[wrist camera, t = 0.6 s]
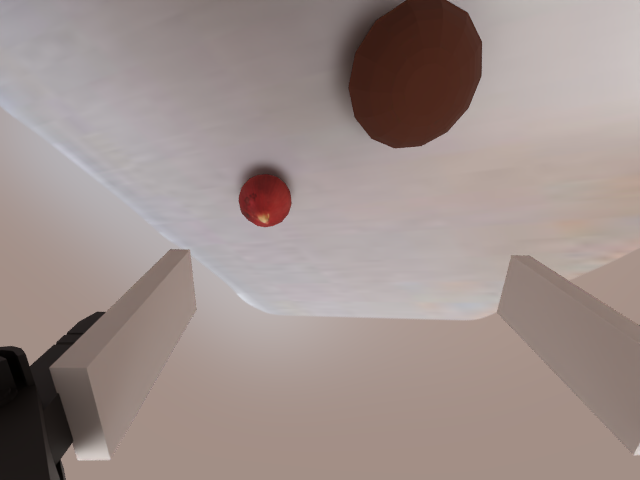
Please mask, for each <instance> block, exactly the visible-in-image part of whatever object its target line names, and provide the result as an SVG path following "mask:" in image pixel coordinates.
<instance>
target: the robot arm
mask: <svg viewBox="0 0 640 480" xmlns="http://www.w3.org/2000/svg"><path fill="white" fill-rule="evenodd" d="M195 311H196V300H195V291H194V282H193V274H192V264H191V255H190V250H179V249H170V250H169V251H168V252H167V253H166V254H165V255H164V256H163V257H162V258H161V259H160V260H159V261H158V262H157V263H156V264H155V265H154V266H153V267H152V268H151V269H150V270H149V271H148V272H147V273H146V274H145V275H144V276H143V277H141V278H140V279H139V281H137V282H136V283H135V284H134V285H133V286H132V287H131V288H130V289H129V290H128V291H127V292H126V293H125V294H124V295H123V296H122V297H121V298H120V299H119V300H118V301H117V302H116V303H115V304H114V305H113V306H112V307H111V308H110V309H109V310H108V311H107V312H96V313H94V314H92V315H90V316H89V317H87V318H85V319H83V320H81V321H80V322H78V323H77V324H76V325H75V326H74V327H73V328H72V329H71V330H70V331H68V333H67V335H64V336H63V337H62V338H61V339H60V340H59V341H57V343H56V345H53V346H52V347H51V348H50V349H49V350H48V351H46V352H45V353H44V354H43V355H42V356H41V357H40V358H39V359H38V360H37V361H35V362H34V363H33V364H32V365H31V366H29V363H28V361H27V357H26V354H25V353H24V351H23V350H22V349H21V348H18V347H13V346H7V347H0V480H66V478H65V473H64V468H63V465H62V462H61V458H62V456H63V455H64V453H65V452H66V451H67V449H68V448H69V447H70V445H71V444H72V443H73V447H74V450H75V453H76V456H77V459H78V460H111V458H112V457H113V455H114V453H115V451H116V450H117V448H118V446H119V444H120V443H121V441H122V439H123V437H124V436H125V434H126V432H127V430H128V429H129V427H130V425H131V423H132V422H133V419H134V418H135V416H136V415H137V413H138V411H139V409H140V408H141V406H142V404H143V402H144V401H145V398H146V397H147V395H148V394H149V392H150V390H151V388H152V387H153V385H154V383H155V381H156V380H157V378H158V376H159V374H160V372H161V371H162V369H163V367H164V366H165V364H166V362H167V360H168V359H169V357H170V355H171V353H172V352H173V350H174V348H175V346H176V345H177V343H178V341H179V339H180V338H181V336H182V334H183V332H184V331H185V329H186V327H187V325H188V324H189V322H190V320H191V318H192V317H193V315H194V313H195ZM497 313H498V314H499V315H500V316H501V317H502V318H503V319H504V321H505V322H507V324H508V325H509V326H510V327H511V328H512V329H513V330H514V331H515V332H516V333H517V334H518V335H519V336H520V337H521V338H522V339H523V340H524V341H525V342H526V343H527V344H528V346H529V347H530V348H531V349H532V350H533V351H534V352H535V353H536V354H537V355H538V356H539V357H540V358H541V359H542V360H543V361H544V362H545V363H546V364H547V365H548V366H549V367H550V369H551V370H552V371H553V372H554V373H555V374H556V375H557V376H558V377H559V378H560V379H561V380H562V381H563V382H564V383H565V384H566V385H567V386H568V387H569V388H570V389H571V390H572V391H573V392H574V394H576V396H577V397H578V398H579V399H580V400H581V401H582V402H583V403H584V404H585V405H586V406H587V407H588V408H589V409H590V410H591V411H592V412H593V413H594V414H595V415H596V416H597V418H598V419H599V420H600V421H601V422H602V423H603V424H604V425H605V426H606V427H607V428H608V429H609V430H610V431H611V432H612V433H613V434H614V435H615V436H616V437H617V438H618V439H619V440H620V442H621V443H622V444H623V445H624V446H625V447H626V448H627V449H628V450H629V451H630V452H631V453H632V454H633V455H640V325H638V324H636V323H635V322H633V321H632V320H630V319H628V318H627V317H625V316H623V315H622V314H620V313H619V312H617V311H616V310H614V309H613V308H611V307H609V306H608V305H606V304H605V303H603V302H601V301H600V300H598V299H597V298H595V297H594V296H592V295H591V294H589V293H587V292H586V291H584V290H583V289H581V288H579V287H578V286H576V285H574V284H573V283H571V282H570V281H568V280H567V279H565V278H564V277H562V276H561V275H559V274H557V273H556V272H554V271H553V270H551V269H550V268H548V267H546V266H545V265H543V264H542V263H540V262H538V261H537V260H535V259H534V258H532V257H531V256H518V255H511V259H510V263H509V267H508V271H507V275H506V279H505V283H504V287H503V291H502V295H501V299H500V302H499V306H498V310H497Z"/></svg>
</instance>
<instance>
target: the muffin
mask: <svg viewBox="0 0 640 480" xmlns="http://www.w3.org/2000/svg"><path fill="white" fill-rule="evenodd" d="M481 74H482V41H481V39H480V37H479V35H478V33H477V31H476V29H475V27H474V24H473V22H472V20H471V18H470V16H469V14H468V13H467V12H466V11H464V10H462V9H461V8H459V7H457V6H455V5H454V4H452V3H450V2H449V1H447V0H406V1H405V2H403V3H402V4H400V5H399V6H397V7H396V8H394V9H393V10H391V11H390V12H388V13H387V14H385V15H384V16H382V17H381V18H379V19H378V20H376V21H375V23H374V25H373V26H372V28H371V29H370V31H369V32H368V34H367V35H366V37H365V38H364V40H363V42H362V43H361V45H360V46H359V48H358V49H357V51H356V52H355V57H354V62H353V67H352V72H351V77H350V82H349V92H350V97H351V102H352V107H353V111H354V116H355V118H356V120H357V121H358V122H359V123H360V125H361V126H362V127H363V129H364V130H365V131H366V132H367V134H368V135H369V136H370V137H371V139H374V140H376V141H378V142H381V143H383V144H386V145H388V146H390V147H393V148H404V147H416V146H422V145H424V144H426V143H428V142H430V141H432V140H433V139H435V138H437V137H439V136H441V135H443V134H445V133H446V132H448V130H449V129H450V128H451V127H452V126H453V125H454V124H455V123H456V121H457V120H458V119H459V118H460V117H461V116H462V115H463V114H464V112H465V111H466V110H467V109H468V108H469V105H470V103H471V101H472V98H473V96H474V93H475V91H476V88H477V86H478V83H479V81H480V78H481Z"/></svg>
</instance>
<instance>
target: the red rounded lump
mask: <svg viewBox="0 0 640 480" xmlns="http://www.w3.org/2000/svg"><path fill="white" fill-rule="evenodd" d="M239 204H240V209H241V212H242V214H243V215H244V216H245V217H246V218H247V219H248V220H249V221H251V222H252V223H254V224H255V225H257V226H261V227H269V226H274V225H276V224H278V223H280V222H282V221H283V220H284V218H285V217H286V216H287V215H288V213H289V210H290V207H291V195H290V191H289V189H288V187H287V186H286V184H285V183H284V182H283V181H282V180H280V179H279V178H278V177H276V176H272V175H269V174H262V175H257V176H254V177H252V178H250V179H249V180H248V181H247V182H246V183H245V184H244V185H243V187H242V188H241V192H240V195H239Z"/></svg>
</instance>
